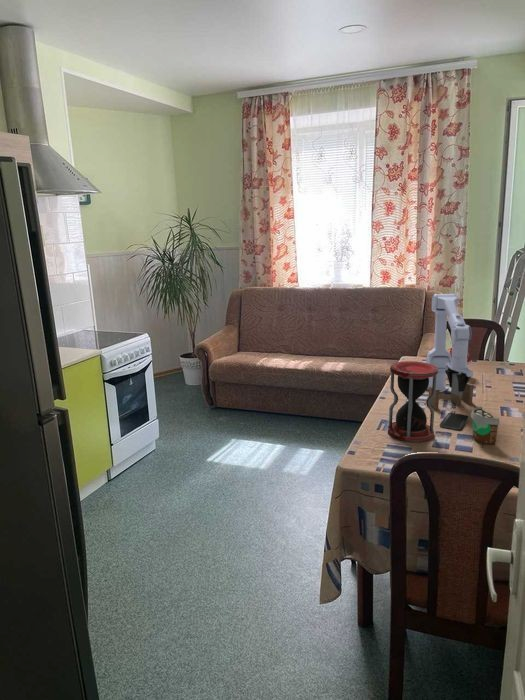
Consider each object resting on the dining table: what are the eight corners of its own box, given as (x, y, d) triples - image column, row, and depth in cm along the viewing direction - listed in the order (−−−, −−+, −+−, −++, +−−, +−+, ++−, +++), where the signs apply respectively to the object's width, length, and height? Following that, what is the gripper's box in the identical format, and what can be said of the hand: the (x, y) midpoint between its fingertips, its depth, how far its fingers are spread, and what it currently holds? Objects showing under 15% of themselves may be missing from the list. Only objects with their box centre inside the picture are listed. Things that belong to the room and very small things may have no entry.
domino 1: (434, 408, 209) (436, 389, 207) (427, 404, 213) (429, 386, 212) (438, 408, 209) (439, 389, 208) (431, 404, 214) (432, 386, 212)
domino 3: (457, 405, 212) (459, 386, 210) (450, 401, 217) (451, 383, 215) (461, 404, 213) (462, 386, 211) (453, 401, 217) (454, 383, 215)
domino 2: (458, 396, 202) (460, 376, 200) (451, 392, 207) (452, 373, 205) (462, 395, 203) (463, 376, 201) (454, 391, 207) (455, 373, 205)
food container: (462, 433, 185) (464, 407, 182) (479, 432, 185) (481, 406, 183) (479, 447, 173) (482, 420, 170) (497, 446, 173) (499, 419, 171)
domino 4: (468, 403, 214) (470, 385, 212) (461, 399, 218) (462, 382, 216) (472, 403, 214) (473, 384, 212) (464, 399, 219) (465, 381, 217)
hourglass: (390, 422, 196) (393, 359, 190) (435, 427, 190) (439, 362, 184) (384, 438, 182) (387, 371, 175) (432, 445, 176) (436, 375, 170)
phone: (439, 425, 191) (448, 412, 203) (438, 427, 191) (448, 414, 203) (461, 429, 186) (469, 415, 199) (461, 432, 187) (469, 418, 199)
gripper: (480, 359, 195) (477, 393, 199) (456, 351, 209) (453, 382, 212) (465, 361, 193) (462, 395, 197) (441, 352, 207) (439, 384, 210)
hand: (456, 389), depth 204 cm, fingers closed on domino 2, 5 cm apart
